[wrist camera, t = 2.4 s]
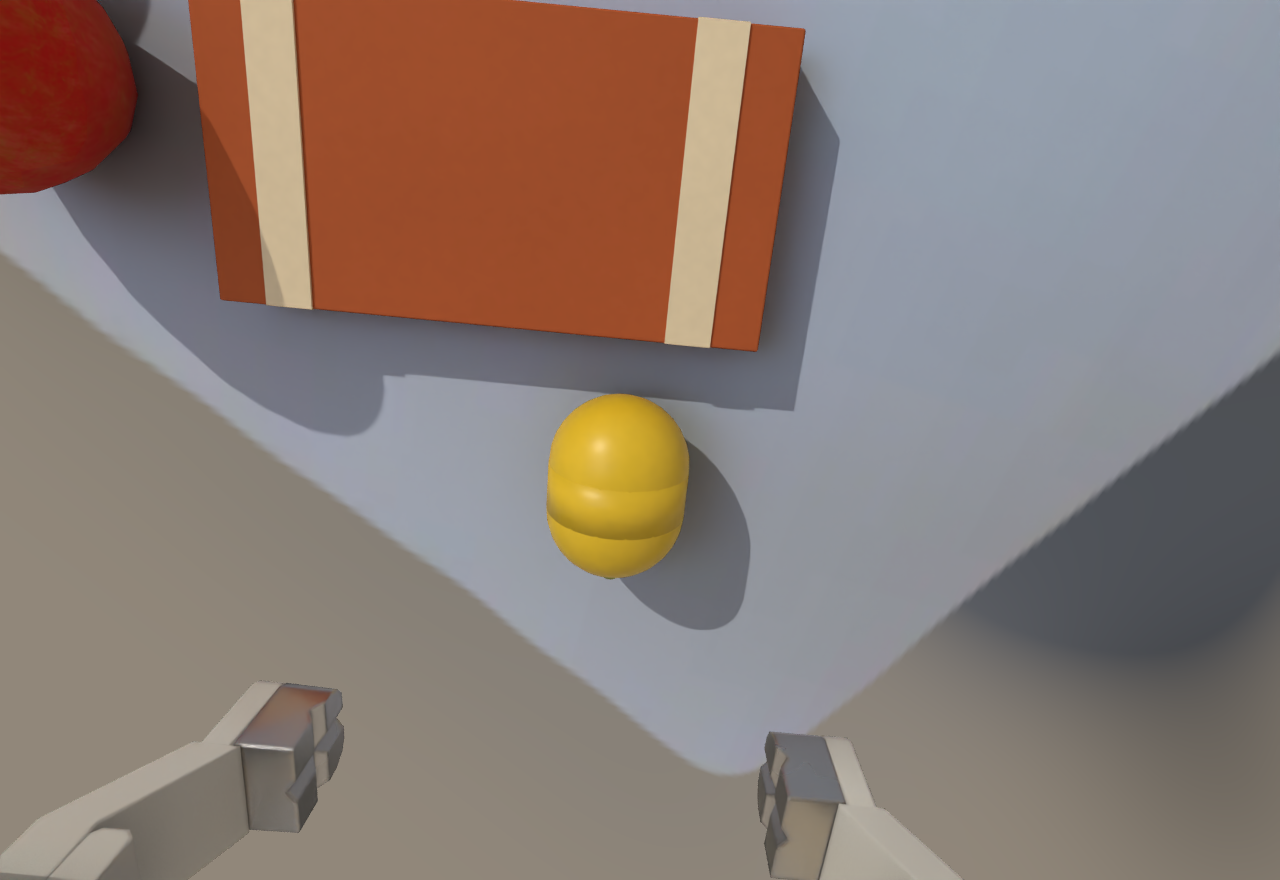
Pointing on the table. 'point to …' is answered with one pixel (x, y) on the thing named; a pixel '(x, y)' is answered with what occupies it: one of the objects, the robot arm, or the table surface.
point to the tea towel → (497, 162)
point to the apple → (60, 91)
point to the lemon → (617, 485)
